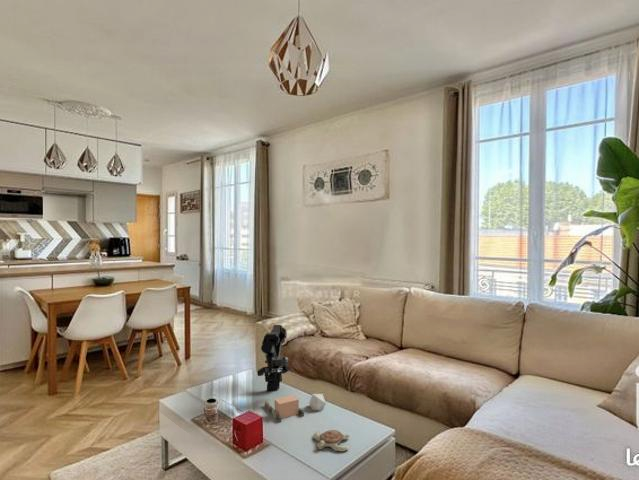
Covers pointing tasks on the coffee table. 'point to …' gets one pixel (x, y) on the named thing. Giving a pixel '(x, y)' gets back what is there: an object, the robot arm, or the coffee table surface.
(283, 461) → the coffee table surface
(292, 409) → the block
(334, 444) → the decorative turtle
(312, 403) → the die
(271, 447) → the coffee table surface
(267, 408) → the track
